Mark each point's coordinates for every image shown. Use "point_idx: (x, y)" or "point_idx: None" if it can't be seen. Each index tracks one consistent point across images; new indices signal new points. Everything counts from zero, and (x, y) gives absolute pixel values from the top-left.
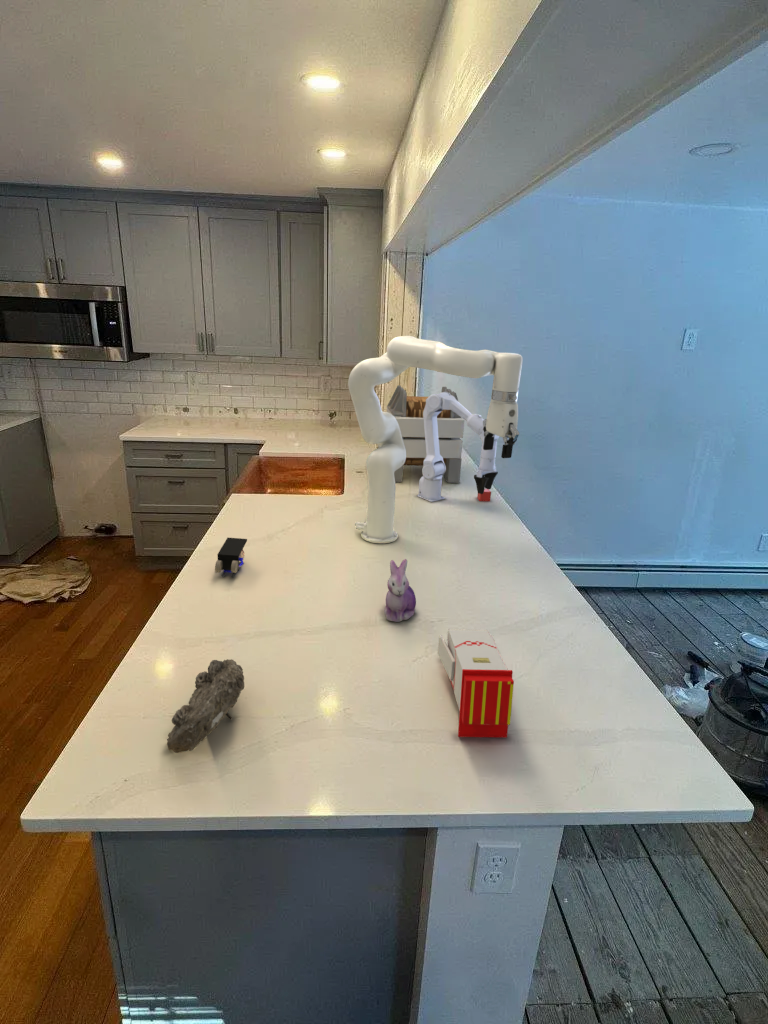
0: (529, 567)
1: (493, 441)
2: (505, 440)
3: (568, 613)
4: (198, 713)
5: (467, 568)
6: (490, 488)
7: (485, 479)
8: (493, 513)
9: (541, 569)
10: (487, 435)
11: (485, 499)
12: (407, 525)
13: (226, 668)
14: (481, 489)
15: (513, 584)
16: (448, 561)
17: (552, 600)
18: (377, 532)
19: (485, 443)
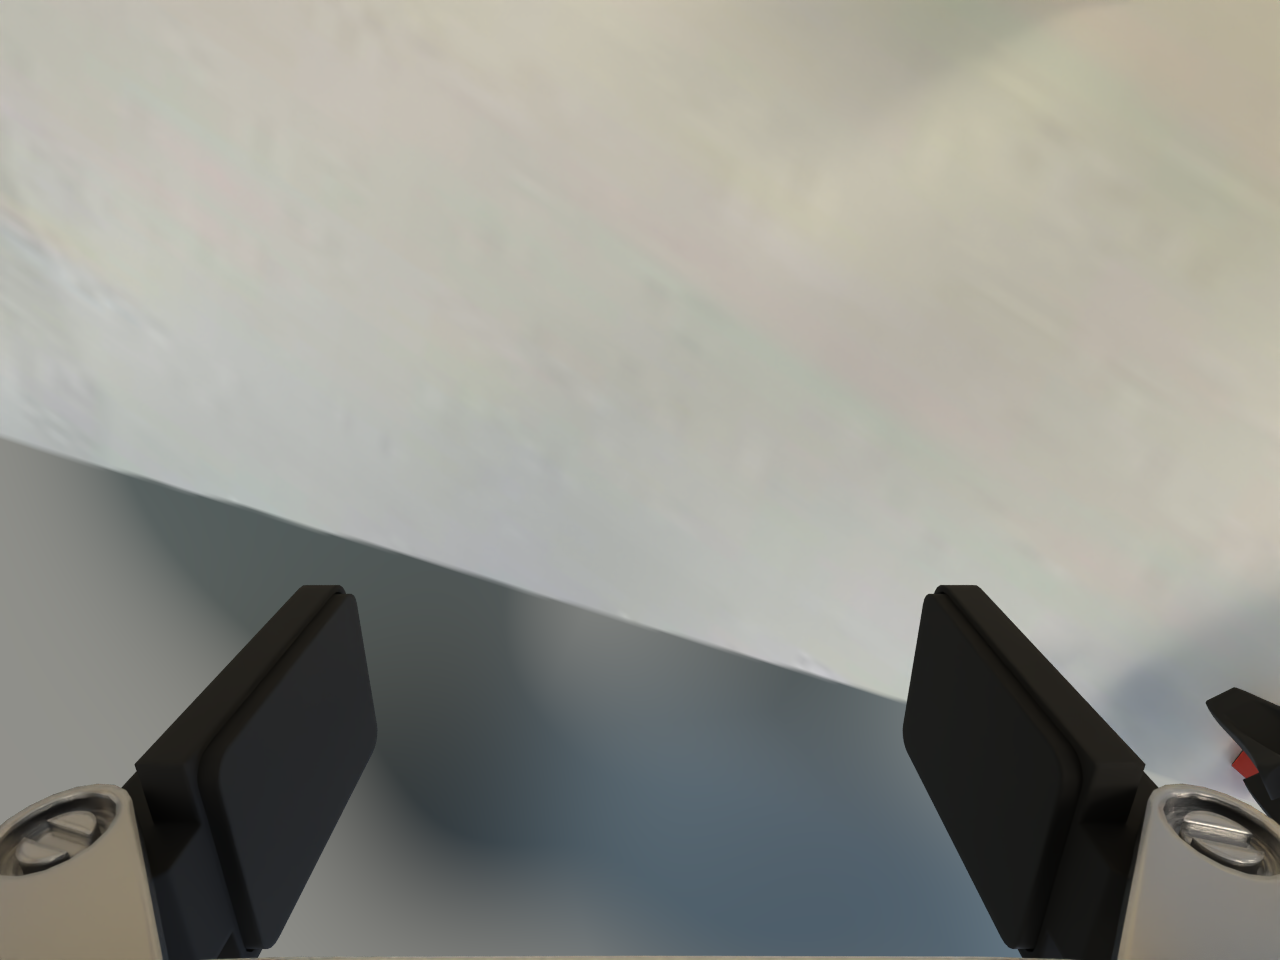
0: (482, 488)
1: (966, 864)
2: (23, 908)
3: (47, 375)
4: None
5: (552, 184)
6: (1246, 786)
7: (1265, 767)
8: (1091, 694)
9: (450, 525)
10: (1133, 866)
11: None
12: (1207, 149)
13: None
14: (1235, 715)
15: (337, 310)
16: (660, 126)
17: (164, 385)
18: None
19: (987, 664)
